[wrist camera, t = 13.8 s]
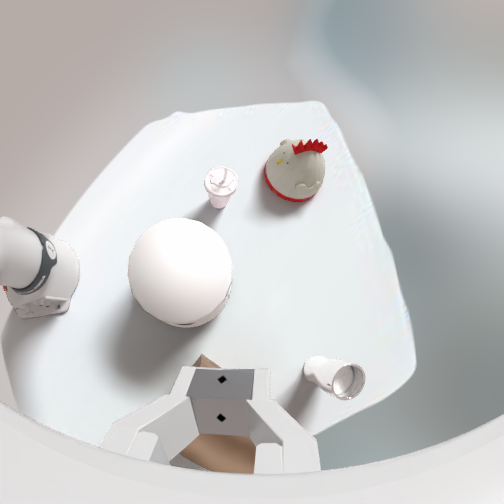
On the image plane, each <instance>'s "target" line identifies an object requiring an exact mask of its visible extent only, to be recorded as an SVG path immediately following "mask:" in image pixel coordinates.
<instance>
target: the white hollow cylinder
mask: <svg viewBox="0 0 504 504" xmlns="http://www.w3.org/2000/svg"><path fill="white" fill-rule="evenodd" d="M303 372H304V376H305V378H306V379H307V380H309V381H311V382H314V383H317V385H318V386H319V387H320V388H321V389H322V390H323V391H324V392H326V393H327V394H329V395H331V396H333V397H336V398H339V399H341V400H350V399H352V398H354V397H356V396H357V395H358V394H359V393H360V392H361V390H362V389H363V387H364V384H365V374H364V371H363V369H362V368H361V367H360V366H358V365H356V364H353V363H351V362H349V361H346V360H341V359H329V360H327V359H326V358H325V357H323V356H313V357H311V358H310V359H308V360H307V362H306V363H305V365H304V369H303Z"/></svg>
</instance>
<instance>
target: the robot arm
mask: <svg viewBox="0 0 504 504" xmlns="http://www.w3.org/2000/svg"><path fill="white" fill-rule="evenodd" d="M79 276H80V263H79V259H78V256H77V253H76V252H75V250H74V248H73V247H72V246H71V245H70V244H68V243H67V242H65V241H62V240H58V239H55V238H54V237H53V236H52V235H51V234H49V233H45V234H43V233H40V232H38V231H37V230H35V229H31V228H28V227H25V226H23V225H21V224H20V223H18V222H16V221H15V220H13V219H12V218H10V217H0V285H2V286H3V288H4V291H6V295H7V297H8V300H9V301H10V303H11V305H12V306H13V307H14V309H15V311H16V313H17V314H18V316H19V317H20V318H22V319H26V318H32V317H38V316H44V315H50V314H56V313H62V312H66V311H67V310H68V308H69V304H70V298H71V296H72V294H73V292H74V290H75V289H76V286H77V284H78V281H79ZM59 305H60V308H59ZM199 433H202V434H219V435H234V436H250V439H251V440H252V442H253V443H254V445H255V446H256V455H255V466H254V474H245V473H226V472H214V471H204V470H196V469H189V468H182V467H176V466H171V464H170V462H169V461H170V460H172V459H173V458H174V457H175V456H176V455H177V454H179V453H180V452H181V451H182V450H183V449H184V448H185V447H186V446H188V445H189V444H190V443H191V442H192V441H193V440H194V439H195V438H196V437H197V436H199ZM0 504H504V414H503V415H501V416H499V417H497V418H495V419H494V420H492V421H490V422H488V423H486V424H484V425H482V426H480V427H478V428H475V429H473V430H471V431H469V432H467V433H464V434H462V435H460V436H457V437H455V438H452V439H450V440H447V441H445V442H442V443H439V444H437V445H434V446H431V447H428V448H425V449H422V450H419V451H416V452H412V453H409V454H405V455H402V456H399V457H394V458H391V459H387V460H383V461H378V462H373V463H368V464H363V465H358V466H352V467H346V468H340V469H333V470H325V471H321V467H320V460H319V453H318V446H317V440H316V439H315V438H314V437H313V436H312V435H311V434H310V433H308V432H307V431H306V430H305V429H304V428H303V427H302V426H301V425H300V424H299V423H298V422H297V421H296V420H295V419H293V418H292V417H291V416H290V415H289V414H288V413H287V412H286V411H285V410H284V409H283V408H282V407H281V406H280V405H279V404H278V403H277V402H276V401H275V400H270V369H269V368H260V369H222V368H206V367H191V366H183V367H182V368H181V370H180V372H179V375H178V377H177V379H176V381H175V383H174V385H173V388H172V390H171V392H170V394H165V395H163V396H161V397H160V398H158V399H156V400H154V401H153V402H151V403H149V404H147V405H146V406H144V407H142V408H140V409H138V410H136V411H135V412H133V413H131V414H129V415H127V416H125V417H124V418H122V419H120V420H118V421H116V422H114V423H113V424H112V425H111V427H110V429H109V430H108V432H107V434H106V435H105V437H104V439H103V440H102V442H101V444H100V446H99V447H97V446H94V445H91V444H88V443H85V442H83V441H80V440H77V439H75V438H72V437H70V436H67V435H65V434H63V433H60V432H58V431H56V430H53V429H51V428H49V427H47V426H45V425H43V424H41V423H39V422H37V421H35V420H33V419H31V418H29V417H27V416H25V415H23V414H21V413H20V412H18V411H16V410H14V409H12V408H11V407H9V406H7V405H6V404H4V403H2V402H1V401H0Z"/></svg>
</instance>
